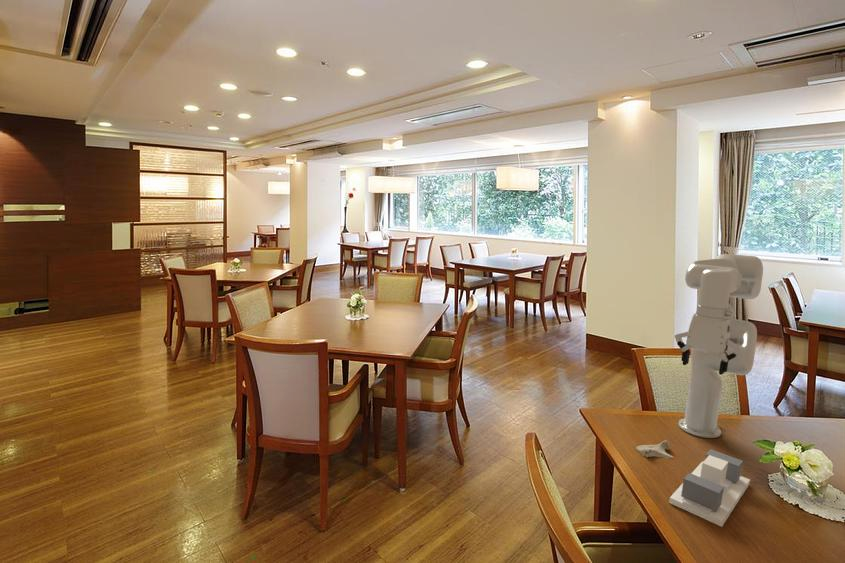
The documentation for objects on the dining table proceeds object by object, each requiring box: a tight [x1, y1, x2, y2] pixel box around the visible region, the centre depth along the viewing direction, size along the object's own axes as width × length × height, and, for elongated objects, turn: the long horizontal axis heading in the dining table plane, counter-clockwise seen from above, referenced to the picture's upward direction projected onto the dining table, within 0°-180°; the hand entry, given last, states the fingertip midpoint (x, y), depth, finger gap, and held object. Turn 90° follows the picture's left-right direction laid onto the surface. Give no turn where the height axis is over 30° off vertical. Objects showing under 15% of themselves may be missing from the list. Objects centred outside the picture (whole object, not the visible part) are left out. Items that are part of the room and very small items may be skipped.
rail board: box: [668, 449, 751, 527], centre depth 127 cm, size 26×12×7 cm, turn 134°
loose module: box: [700, 455, 728, 487], centre depth 127 cm, size 6×4×7 cm
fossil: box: [635, 440, 674, 459], centre depth 147 cm, size 7×11×3 cm, turn 94°
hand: (703, 368), depth 141 cm, fingers open, 9 cm apart
